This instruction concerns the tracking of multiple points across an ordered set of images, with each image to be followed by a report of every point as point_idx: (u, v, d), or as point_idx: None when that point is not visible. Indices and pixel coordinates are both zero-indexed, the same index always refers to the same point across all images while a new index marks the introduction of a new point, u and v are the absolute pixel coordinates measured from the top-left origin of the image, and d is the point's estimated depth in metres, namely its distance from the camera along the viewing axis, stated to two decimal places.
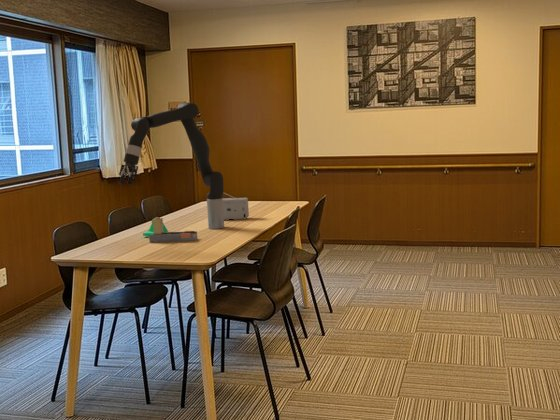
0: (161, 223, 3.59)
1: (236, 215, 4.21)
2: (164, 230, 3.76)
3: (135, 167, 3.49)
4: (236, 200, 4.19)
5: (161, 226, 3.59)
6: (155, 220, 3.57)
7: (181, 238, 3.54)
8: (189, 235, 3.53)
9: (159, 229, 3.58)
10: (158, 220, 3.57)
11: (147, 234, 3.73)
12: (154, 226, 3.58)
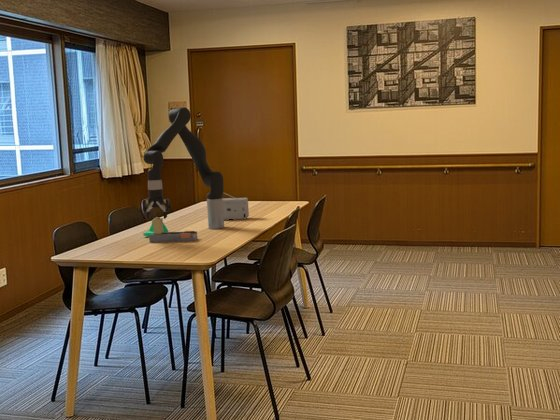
0: (161, 223, 3.59)
1: (236, 215, 4.21)
2: (164, 230, 3.76)
3: (168, 201, 3.56)
4: (236, 200, 4.19)
5: (161, 226, 3.59)
6: (155, 220, 3.57)
7: (181, 238, 3.54)
8: (189, 235, 3.53)
9: (159, 229, 3.58)
10: (158, 220, 3.57)
11: (147, 234, 3.73)
12: (154, 226, 3.58)
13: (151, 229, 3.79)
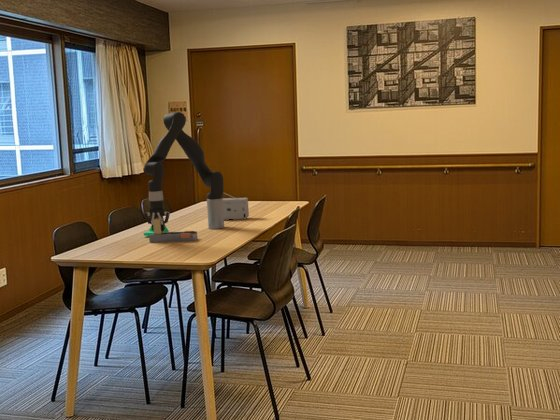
0: None
1: (236, 215, 4.21)
2: (165, 230, 3.76)
3: (168, 214, 3.57)
4: (236, 200, 4.19)
5: None
6: (155, 220, 3.57)
7: (181, 238, 3.54)
8: (189, 235, 3.53)
9: (159, 229, 3.58)
10: (158, 220, 3.57)
11: (148, 234, 3.73)
12: (154, 226, 3.58)
13: (151, 229, 3.79)
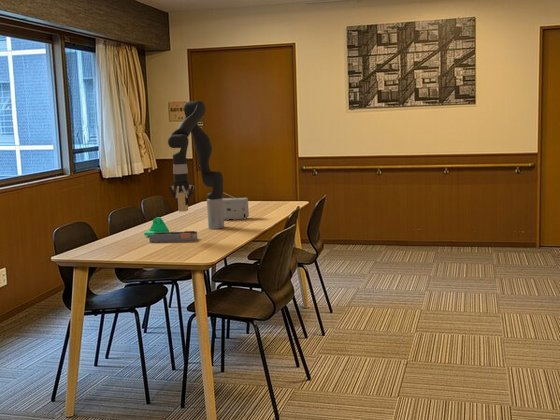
0: (185, 197, 3.55)
1: (236, 215, 4.21)
2: (165, 230, 3.77)
3: (193, 188, 3.53)
4: (236, 200, 4.19)
5: (185, 200, 3.55)
6: (179, 193, 3.53)
7: (181, 238, 3.54)
8: (189, 235, 3.53)
9: (184, 203, 3.54)
10: (182, 193, 3.53)
11: (148, 234, 3.74)
12: (178, 199, 3.54)
13: (152, 229, 3.80)
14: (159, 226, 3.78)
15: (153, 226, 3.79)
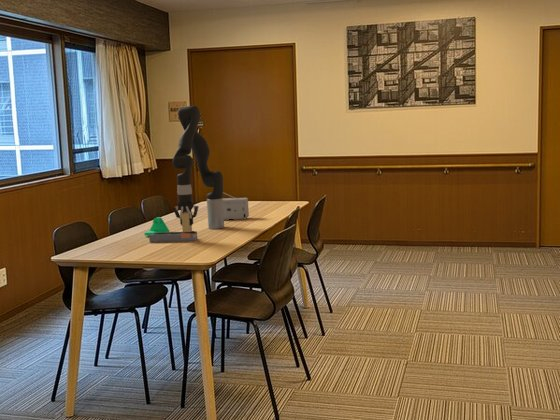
0: None
1: (236, 215, 4.21)
2: (165, 230, 3.77)
3: (197, 208, 3.55)
4: (236, 200, 4.19)
5: None
6: (184, 214, 3.54)
7: (181, 238, 3.54)
8: (189, 235, 3.53)
9: (188, 223, 3.55)
10: (187, 214, 3.54)
11: (148, 234, 3.74)
12: (182, 220, 3.55)
13: (152, 229, 3.80)
14: (159, 226, 3.78)
15: (153, 226, 3.79)
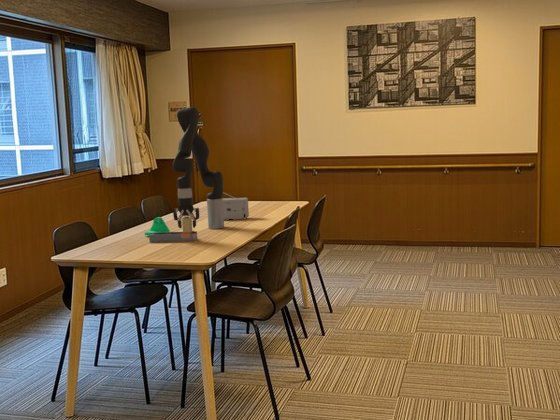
0: (190, 222, 3.56)
1: (236, 215, 4.21)
2: (166, 229, 3.77)
3: (198, 210, 3.55)
4: (236, 200, 4.19)
5: (190, 225, 3.56)
6: (184, 219, 3.55)
7: (181, 238, 3.54)
8: (189, 235, 3.53)
9: (188, 228, 3.55)
10: (187, 219, 3.54)
11: (149, 233, 3.74)
12: (183, 225, 3.55)
13: (152, 229, 3.80)
14: (159, 226, 3.78)
15: (153, 226, 3.80)
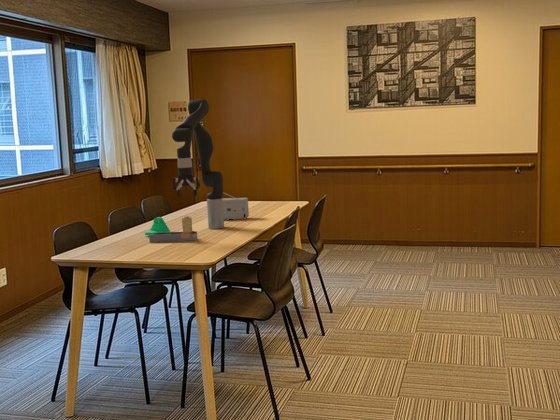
0: (190, 222, 3.56)
1: (236, 215, 4.21)
2: (166, 229, 3.77)
3: (198, 178, 3.54)
4: (236, 200, 4.19)
5: (190, 225, 3.56)
6: (184, 219, 3.55)
7: (181, 238, 3.54)
8: (189, 235, 3.53)
9: (188, 228, 3.55)
10: (187, 219, 3.54)
11: (149, 233, 3.74)
12: (183, 225, 3.55)
13: (153, 228, 3.80)
14: (160, 226, 3.78)
15: (154, 226, 3.80)
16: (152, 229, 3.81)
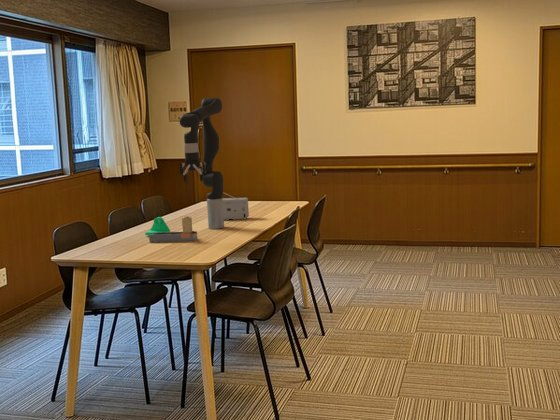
0: (190, 222, 3.56)
1: (236, 215, 4.21)
2: (166, 229, 3.78)
3: (204, 164, 3.62)
4: (236, 200, 4.19)
5: (190, 225, 3.56)
6: (184, 219, 3.55)
7: (181, 238, 3.54)
8: (189, 235, 3.53)
9: (188, 228, 3.55)
10: (187, 219, 3.54)
11: (149, 233, 3.75)
12: (183, 225, 3.55)
13: (153, 228, 3.81)
14: (160, 226, 3.79)
15: (154, 226, 3.80)
16: (152, 229, 3.81)
